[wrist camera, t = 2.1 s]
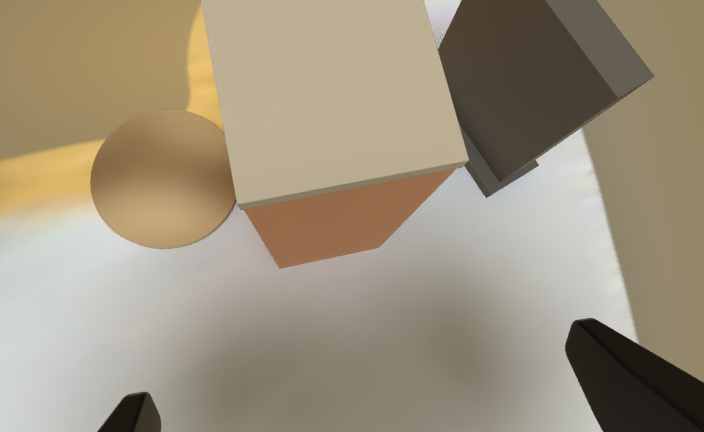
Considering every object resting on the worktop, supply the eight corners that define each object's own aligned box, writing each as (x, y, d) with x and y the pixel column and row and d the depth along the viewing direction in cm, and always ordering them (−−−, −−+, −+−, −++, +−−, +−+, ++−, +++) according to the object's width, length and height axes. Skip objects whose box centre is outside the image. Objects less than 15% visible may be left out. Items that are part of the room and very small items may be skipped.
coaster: (251, 232, 23) (250, 231, 22) (103, 262, 22) (99, 261, 21) (228, 103, 24) (226, 99, 24) (87, 126, 23) (83, 122, 23)
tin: (382, 247, 23) (475, 159, 10) (278, 269, 22) (237, 204, 10) (360, 153, 24) (419, -38, 11) (260, 171, 23) (199, -10, 10)
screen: (533, 168, 25) (677, 72, 15) (486, 197, 24) (605, 117, 15) (455, 57, 26) (543, -101, 16) (408, 82, 25) (470, -66, 16)
